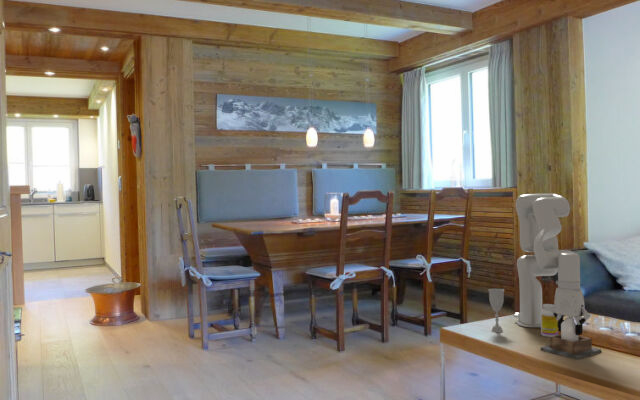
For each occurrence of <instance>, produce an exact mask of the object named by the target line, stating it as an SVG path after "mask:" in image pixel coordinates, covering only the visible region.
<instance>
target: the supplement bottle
mask: <svg viewBox="0 0 640 400" xmlns="http://www.w3.org/2000/svg"><path fill="white" fill-rule="evenodd" d="M553 306H554V304H552V303H542V311H541V327H540V334H541V336H543V337H547V338H548V337H549V338H550V337H552V336H556V335H559V331H558V321H557V320H556V317H555V316H554V315H553V313H552V312H551V310H550V309H551V308H552V307H553Z"/></svg>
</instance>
